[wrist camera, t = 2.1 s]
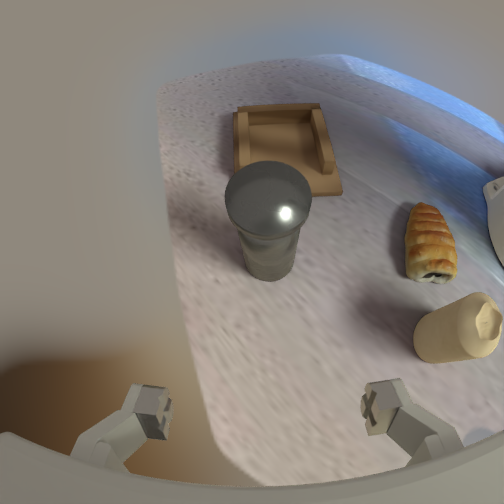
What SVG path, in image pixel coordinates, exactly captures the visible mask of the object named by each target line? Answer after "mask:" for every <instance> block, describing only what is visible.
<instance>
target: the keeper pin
mask: <svg viewBox="0 0 504 504" xmlns="http://www.w3.org/2000/svg"><path fill="white" fill-rule="evenodd" d="M311 202H312V193H311V188H310V186H309V183H308V181H307V180H306V178H305V177H304V176H303V175H302V174H301V173H300V172H299V171H298V170H297V169H295V168H294V167H292V166H290V165H288V164H285V163H282V162H278V161H259V162H254V163H251V164H249V165H246V166H245V167H243V168H241V169H240V170H239V171H237V172H236V173H235V174H234V175H233V176H232V178H231V179H230V181H229V182H228V185H227V187H226V190H225V204H226V209H227V212H228V215H229V218H230V220H231V222H232V223H233V224H234V226H235V227H236V228H237V230H238V234H239V238H240V243H241V247H242V251H243V255H244V260H245V264H246V267H247V269H248V271H249V272H250V273H251V274H252V275H253V276H254V277H255V278H257V279H259V280H262V281H267V282H272V281H277V280H280V279H282V278H283V277H285V276H286V275H287V274H288V273H289V272H290V270H291V268H292V266H293V263H294V258H295V253H296V248H297V243H298V238H299V233H300V228H301V227H302V225H303V224H304V223H305V221H306V220H307V217H308V215H309V211H310V207H311Z"/></svg>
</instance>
